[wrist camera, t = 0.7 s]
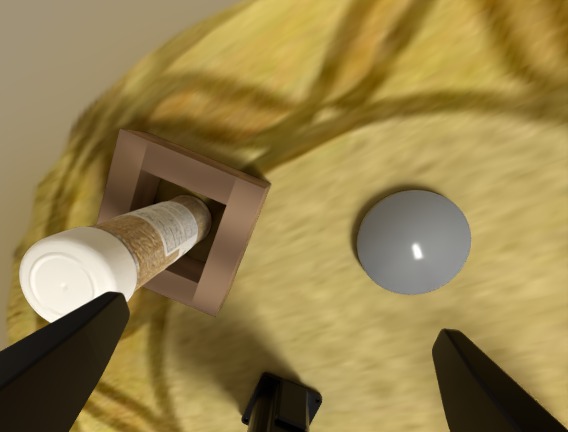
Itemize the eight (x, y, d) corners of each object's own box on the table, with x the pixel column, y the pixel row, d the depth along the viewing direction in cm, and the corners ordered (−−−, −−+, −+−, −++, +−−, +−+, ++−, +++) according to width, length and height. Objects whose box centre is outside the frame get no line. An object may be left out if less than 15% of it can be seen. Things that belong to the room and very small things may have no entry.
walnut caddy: (227, 296, 27) (215, 316, 23) (115, 249, 27) (86, 263, 23) (271, 183, 24) (265, 188, 21) (146, 132, 24) (119, 128, 21)
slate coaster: (432, 305, 25) (436, 310, 24) (339, 266, 25) (340, 270, 24) (486, 214, 23) (493, 216, 22) (385, 172, 23) (387, 173, 22)
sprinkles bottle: (177, 249, 26) (45, 344, 13) (156, 203, 25) (-6, 256, 12) (221, 233, 25) (129, 318, 12) (201, 186, 25) (80, 222, 12)
